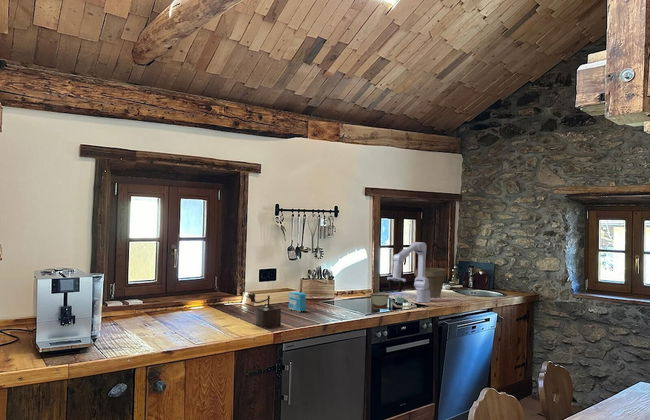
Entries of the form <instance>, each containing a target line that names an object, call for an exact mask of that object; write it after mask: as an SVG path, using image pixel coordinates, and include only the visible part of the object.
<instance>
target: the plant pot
mask: <svg viewBox="0 0 650 420" xmlns="http://www.w3.org/2000/svg"><path fill="white" fill-rule="evenodd" d="M413 274H414V276H415V278H416V277H417V276H418V267H417V268H414V269H413ZM446 276H447V269H445V268H443V267H442V268H441V267H425V277H426V278H428V282H429V287H428V289H427V290H429V291H430V299H431V298H432V299H433V298H435V299H436V298H440V297H441V294H442V291H443V287H444V282H445V277H446ZM422 281H423V280H422Z"/></svg>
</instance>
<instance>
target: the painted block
mask: <svg viewBox="0 0 650 420" xmlns="http://www.w3.org/2000/svg"><path fill="white" fill-rule="evenodd" d="M404 299H405V297H403V296H401V295H400V296H399V295H397V296H396V295H395V296H394V301H395V303H396V302H397V303H396V304H404V303H405V302H404ZM403 302H404V303H403Z"/></svg>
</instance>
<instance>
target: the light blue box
mask: <svg viewBox="0 0 650 420" xmlns="http://www.w3.org/2000/svg"><path fill="white" fill-rule="evenodd" d="M306 298H307V297H306V293H305V292H301V291H300V292H299V291H289V293H288V310H289V309H292V310H296V311H305V312H306V308H307V307H306V304H307V303H306V302H307V301H306Z"/></svg>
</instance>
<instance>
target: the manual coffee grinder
mask: <svg viewBox="0 0 650 420" xmlns="http://www.w3.org/2000/svg"><path fill="white" fill-rule="evenodd" d="M248 298H249V300H250V303H254V304H260V303H264V302H267V303H264V305H263V306H261V307H255V308H256V310H255V311H256V312H255V313H256V315H255V318H256V320H255V325H256V324H257V325H256V326H258V325H259V326H258V327H260V326H262V327H261V328H264V327H268V328H273V327H272V326H275V327H279V325H281V323H282V321H281V317H282V316H281V315H282V314H281V313H282V310H281V308H278V307H275V306H274V305H272V304H270V299H271V298H270V295H269V294H268V295H267V298H266V299H263V300H260V301H259V300H258V301H256V293H254V292H252V293H249V294H248ZM281 326H282V325H281Z"/></svg>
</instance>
